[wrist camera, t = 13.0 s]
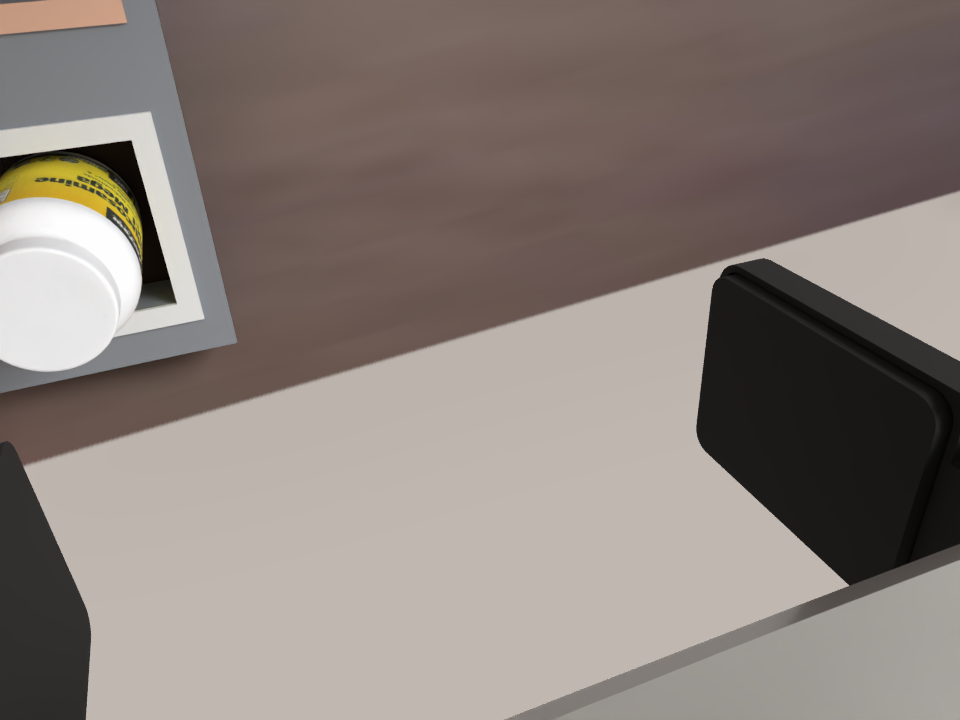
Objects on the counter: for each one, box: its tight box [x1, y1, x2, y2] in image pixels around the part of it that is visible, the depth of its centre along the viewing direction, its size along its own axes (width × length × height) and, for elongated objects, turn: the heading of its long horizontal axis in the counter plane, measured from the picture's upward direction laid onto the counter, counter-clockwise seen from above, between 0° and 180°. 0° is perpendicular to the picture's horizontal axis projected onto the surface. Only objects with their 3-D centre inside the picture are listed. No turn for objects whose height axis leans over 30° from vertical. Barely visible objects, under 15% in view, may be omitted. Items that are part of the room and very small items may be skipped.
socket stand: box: [0, 0, 237, 393], centre depth 31 cm, size 12×26×3 cm, turn 4°
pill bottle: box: [0, 151, 143, 372], centre depth 31 cm, size 6×6×11 cm
